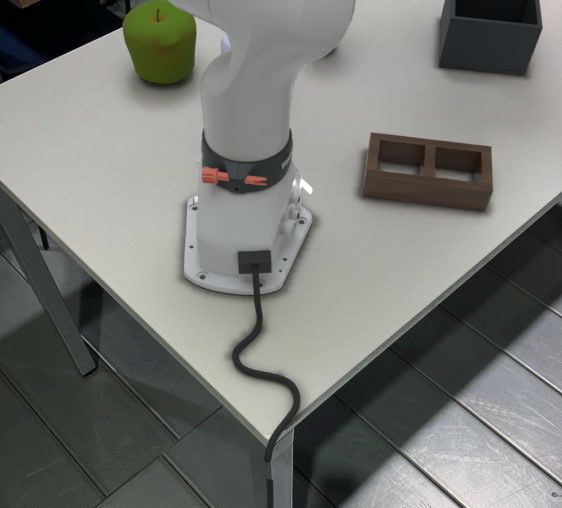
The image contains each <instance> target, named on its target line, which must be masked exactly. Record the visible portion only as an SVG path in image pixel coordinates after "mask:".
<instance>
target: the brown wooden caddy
mask: <svg viewBox="0 0 562 508" xmlns="http://www.w3.org/2000/svg"><path fill="white" fill-rule="evenodd" d="M367 146H368V147H367V152H366V161H365V169H364V176H363V183H362V192H361V197H363V198H373V199H379V200H380V199H381V200H388V201H397V202H405V203H413V204H422V205H429V206H435V207H444V208H453V209H461V210H467V211H469V210H470V211H478V212H486V210H487V207H488V205H489V203H490V200H491V198H492V195H493V193H494V180H493V179H494V178H493V176H494V175H493V152H492V151H493V150H492V147H493V146H491V145H483V144H474V143H467V142H459V141H448V140H441V139H432V138H422V137H417V136H416V137H414V136H408V135H407V136H406V135H400V134H399V135H398V134H389V133H382V132H381V133H380V132H373V131H371V132H370V135H369V141H368V145H367ZM379 162H385V163H386V162H387V163H393V164H402V165H410V166H418V167H419V173H418V174H413V173H403V172H396V171H387V170H379V169H378V164H379ZM436 169H441V170H442V169H443V170H451V171H460V172H466V173H467V172H468V173H473V181H470V180H461V179H453V178H446V177H437V176H435V172H436Z"/></svg>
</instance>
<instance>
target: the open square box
mask: <svg viewBox="0 0 562 508" xmlns="http://www.w3.org/2000/svg"><path fill="white" fill-rule="evenodd" d="M543 27H544V26H543V17H542V9H541V1H540V0H444V3H443V7H442V11H441V15H440V20H439V41H438V67H439V68H448V69H456V70H465V71H475V72H485V73H493V74H502V75H510V76H511V75H512V76H518V77H525V76H526V73H527V70H528V68H529V66H530V63H531V61H532V58H533V55H534V52H535V50H536V47H537V45H538V42H539V39H540V36H541V34H542V32H543Z"/></svg>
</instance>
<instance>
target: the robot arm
mask: <svg viewBox="0 0 562 508" xmlns="http://www.w3.org/2000/svg"><path fill="white" fill-rule="evenodd" d="M167 1H169V2H170V3H171V4H172V5H174V6H175V7H176V8H178V9H180V10H182V11H184V12H186V13H189V14H191V15H193V16H194V18H197V19H200V20H201V21H203V22H206V23H208V24H210V25H212V26H214V27H217V28H219V29H220V30H221V31H223V32H224V31H225V33H226V34H227V36H228V38H229V41H230V45H231V50H229V51H227V52H224V53H222V54H221V53H220V54H219V55H217V56H216V57H214V58H213V59H212V60H211V61H210V62H209V64H208V65H207V67H206V69H205V70H204V72H203V74H202V77H201V80H200V84H199V92H200V103H201V113H202V122H203V129H202V133H201V142H200V143H201V144H200V154H201V155H200V156H201V157H200V158H198V159H197V160H196V162H197V171H198V181H197V183H198V184H197V194H196V195H193V196H191V197H189V199H188V200H187V202H186V203H187V205H186V220H185V221H186V222H185V239H184V255H183V256H184V257H183V276H184V278H185V279H187V281H189V282H191V283H193V284H194V285H196V286H199V287H201V288H204V289H206V290H210V291H214V292H219V293H223V294H224V293H226V294H232V295H243V296H244V295H245V296H253V303H254V310H255V311H254V312H255V316H256V319H255V325H254V328H253V329H252V330H251V332H250V334H248V335H247V336H246V337H245V338H243V339H242V340H241V341H240V342H239V343H237V344H236V345H235V346H234V348H233V350H232V353H231V359H232V362H233V364H234V366H235V367H236V368H237V369H238V371H240V372H242V373H244V374H246V375H249V376H252V377H257V378H261V379H267V380H271V381H275V382H279V383H282V384H284V385H286V386H287V387H288V388H289V389H290V391H291V394H292V396H293V402H292V405H291V407H290V409H289V411H288V412H287V413H286V415H285V416H284V418H282V420H281V421H280V422H279V424H278V425H277V426H276V428H275V429H274V430H273V432H272V433H271V436H270V437H269V439H268V442H267V444H266V448H265V451H264V456H263V460H264V462H265V463H266V464H269V463H270V462H271V461H272V458H273V457H272V456H273V453H274V449H275V446H276V443H277V441H278V440H279V438H280V436H281V435H282V433H283V432H284V430H286V428H287V427H288V426H289V424H290V423H291V422H292V420H293V419H294V418H295V417H296V415H297V413H298V411H299V408H300V404H301V392H300V390H299V388H298V386H297V385H296V383H295V382H293V380H291V379H290V378H288V377H286V376H284V375H281V374H279V373H273V372H269V371H264V370H259V369H254V368H250V367H248V366H247V365H245V364H243V362H241V359H240V352H241V351H242V350H243V349H245V347H247V346H248V345H249V344H250V343H252V341H254V340H255V339H256V337H258V335H259V334H260V332H261V330H262V327H263V322H264V316H263V315H264V314H263V309H262V301H261V295H266V294H271V293H274V292H277V291H279V290H281V288H282V287H283V285H284V283H285V281H286V279H287V277H288V274H289V273H290V271H291V269H292V266H293V264H294V263H295V261H296V258H297V256H298V254H299V251H300V249H301V248H302V245H303V243H304V241H305V239H306V236H307V234H308V232H309V230H310V227H311V225H313V214H312V213H311V212H310V211H309V210H308V209H307V208H305V207H304V206H302V187H303V189H305V191H306V192H308V193H309V194H312V193H313V188H312V187H311V186H310V185H309V184H308V183H307V182H306V181H305V180H303V178H302V177H303V174H302V172H301V170H300V169H299V168H298V167H297V166H296V164H295V163H294V162H293V159H292V158H293V151H294V139H293V132H292V129H291V109H292V100H293V91H294V86H295V83H296V80H297V78H298V76H299V74H300V73H301V71H302V70H303V69H304V68H305V67H306V66H307V65H309V64H310V63H313V62H316V61H318V60H320V59H322V58H324V57H326V56H327V55H329V54H330V53H331V52H332V51H333V50H334V49H335V48H336V47H337V46H338V45H339V44H340V42H341V41H342V40H343V38H344V37H345V36H346V33H348V30H349V28H350V26H351V23H352V20H353V18H354V14H355V9H356V3H357V0H167ZM329 52H330V53H329ZM265 482H266V508H274V503H275V501H274V499H275V498H274V496H275V495H274V493H275V492H274V488H275V487H274V479H270V478H265Z"/></svg>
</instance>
